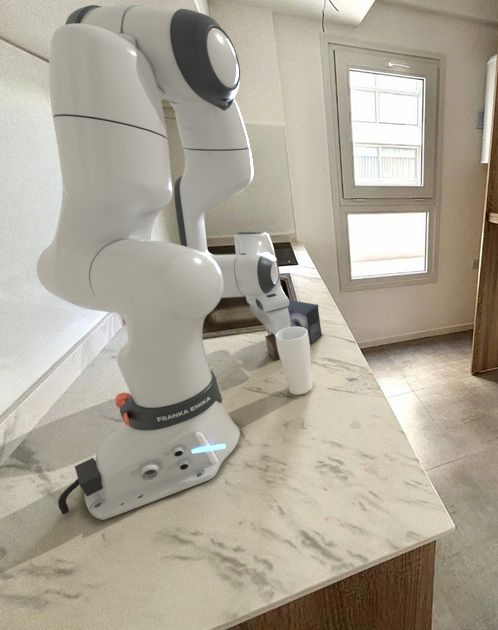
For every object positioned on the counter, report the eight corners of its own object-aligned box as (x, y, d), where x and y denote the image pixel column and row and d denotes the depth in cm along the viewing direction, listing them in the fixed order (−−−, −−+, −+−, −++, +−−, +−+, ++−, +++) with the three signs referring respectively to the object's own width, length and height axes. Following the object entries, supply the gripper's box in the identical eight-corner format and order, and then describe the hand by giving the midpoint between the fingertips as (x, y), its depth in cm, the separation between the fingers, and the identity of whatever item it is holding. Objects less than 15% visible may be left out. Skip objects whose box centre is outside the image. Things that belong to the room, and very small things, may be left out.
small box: (279, 339, 99) (273, 307, 94) (293, 329, 104) (288, 299, 100) (310, 345, 96) (305, 312, 92) (322, 335, 102) (318, 303, 97)
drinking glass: (300, 377, 82) (291, 323, 76) (321, 384, 80) (314, 330, 73) (279, 392, 77) (267, 336, 70) (301, 401, 74) (291, 343, 68)
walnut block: (274, 360, 89) (272, 345, 86) (267, 350, 92) (265, 336, 89) (293, 353, 92) (291, 338, 89) (285, 344, 95) (283, 330, 92)
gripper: (238, 284, 91) (249, 327, 98) (265, 308, 78) (275, 357, 84) (261, 279, 95) (270, 321, 101) (291, 301, 82) (299, 348, 88)
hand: (273, 338), depth 93 cm, fingers closed
